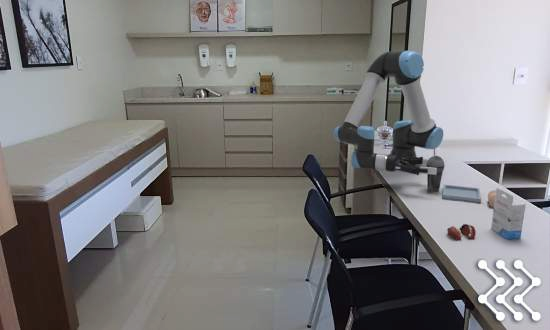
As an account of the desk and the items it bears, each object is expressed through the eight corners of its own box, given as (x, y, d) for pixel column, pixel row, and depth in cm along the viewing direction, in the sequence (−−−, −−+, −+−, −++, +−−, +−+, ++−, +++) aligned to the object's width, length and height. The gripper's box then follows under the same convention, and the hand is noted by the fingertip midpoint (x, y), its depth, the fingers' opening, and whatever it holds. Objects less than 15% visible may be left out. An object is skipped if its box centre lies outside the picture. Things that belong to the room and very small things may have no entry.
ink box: (521, 238, 124) (528, 195, 120) (506, 239, 124) (513, 196, 120) (504, 227, 133) (510, 186, 129) (490, 228, 132) (495, 187, 128)
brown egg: (485, 198, 156) (491, 188, 154) (497, 204, 155) (504, 194, 153) (486, 204, 150) (493, 193, 148) (499, 210, 149) (506, 199, 147)
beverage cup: (443, 194, 165) (448, 148, 160) (425, 193, 167) (429, 147, 161) (440, 188, 172) (444, 144, 167) (422, 187, 174) (426, 144, 168)
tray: (443, 188, 172) (443, 184, 172) (478, 192, 167) (479, 188, 166) (442, 198, 160) (442, 194, 159) (480, 203, 154) (481, 199, 154)
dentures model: (445, 222, 128) (468, 220, 129) (444, 233, 129) (466, 232, 130) (455, 230, 123) (479, 228, 124) (454, 242, 124) (477, 240, 125)
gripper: (390, 163, 186) (438, 168, 178) (381, 178, 165) (435, 184, 156) (391, 148, 184) (439, 152, 176) (381, 161, 163) (436, 166, 154)
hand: (437, 167), depth 166 cm, fingers open, 13 cm apart
